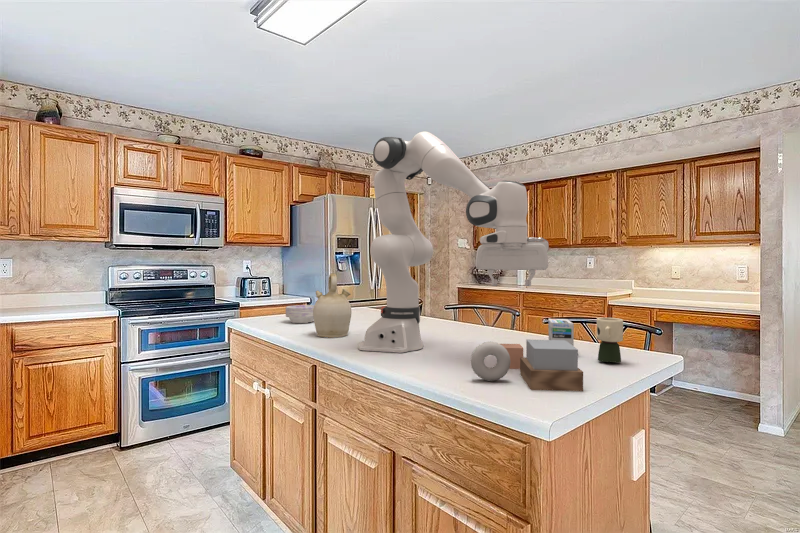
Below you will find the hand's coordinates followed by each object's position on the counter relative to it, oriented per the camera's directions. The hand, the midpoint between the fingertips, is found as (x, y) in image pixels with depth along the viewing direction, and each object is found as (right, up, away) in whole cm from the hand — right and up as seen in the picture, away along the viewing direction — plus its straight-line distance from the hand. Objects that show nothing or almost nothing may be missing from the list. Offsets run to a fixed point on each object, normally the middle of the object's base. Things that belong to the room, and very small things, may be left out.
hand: (511, 285), depth 128 cm
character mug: (+30, -23, +5) cm, 39 cm away
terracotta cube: (0, -23, 0) cm, 23 cm away
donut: (-9, -24, -15) cm, 29 cm away
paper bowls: (-79, -22, +87) cm, 120 cm away
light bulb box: (+21, -23, +18) cm, 36 cm away
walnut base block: (+6, -24, -16) cm, 29 cm away
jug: (-59, -22, +51) cm, 81 cm away
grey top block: (+6, -19, -16) cm, 26 cm away
